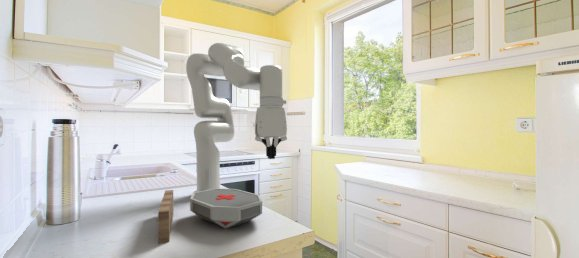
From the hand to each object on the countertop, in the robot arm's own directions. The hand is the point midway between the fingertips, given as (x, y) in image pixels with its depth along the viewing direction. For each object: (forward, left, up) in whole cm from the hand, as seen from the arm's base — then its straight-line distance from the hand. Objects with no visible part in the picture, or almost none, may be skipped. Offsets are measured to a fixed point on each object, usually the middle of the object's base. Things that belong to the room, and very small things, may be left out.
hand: (271, 158), depth 97 cm
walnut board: (0, -32, -19) cm, 37 cm away
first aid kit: (0, -15, -19) cm, 25 cm away
